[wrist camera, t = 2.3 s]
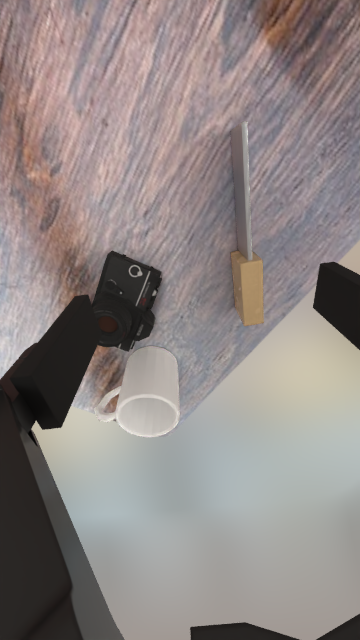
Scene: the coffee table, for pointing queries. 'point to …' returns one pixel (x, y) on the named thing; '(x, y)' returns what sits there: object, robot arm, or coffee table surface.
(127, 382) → the mug
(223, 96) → the coffee table surface
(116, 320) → the film camera
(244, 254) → the knife
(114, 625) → the robot arm
